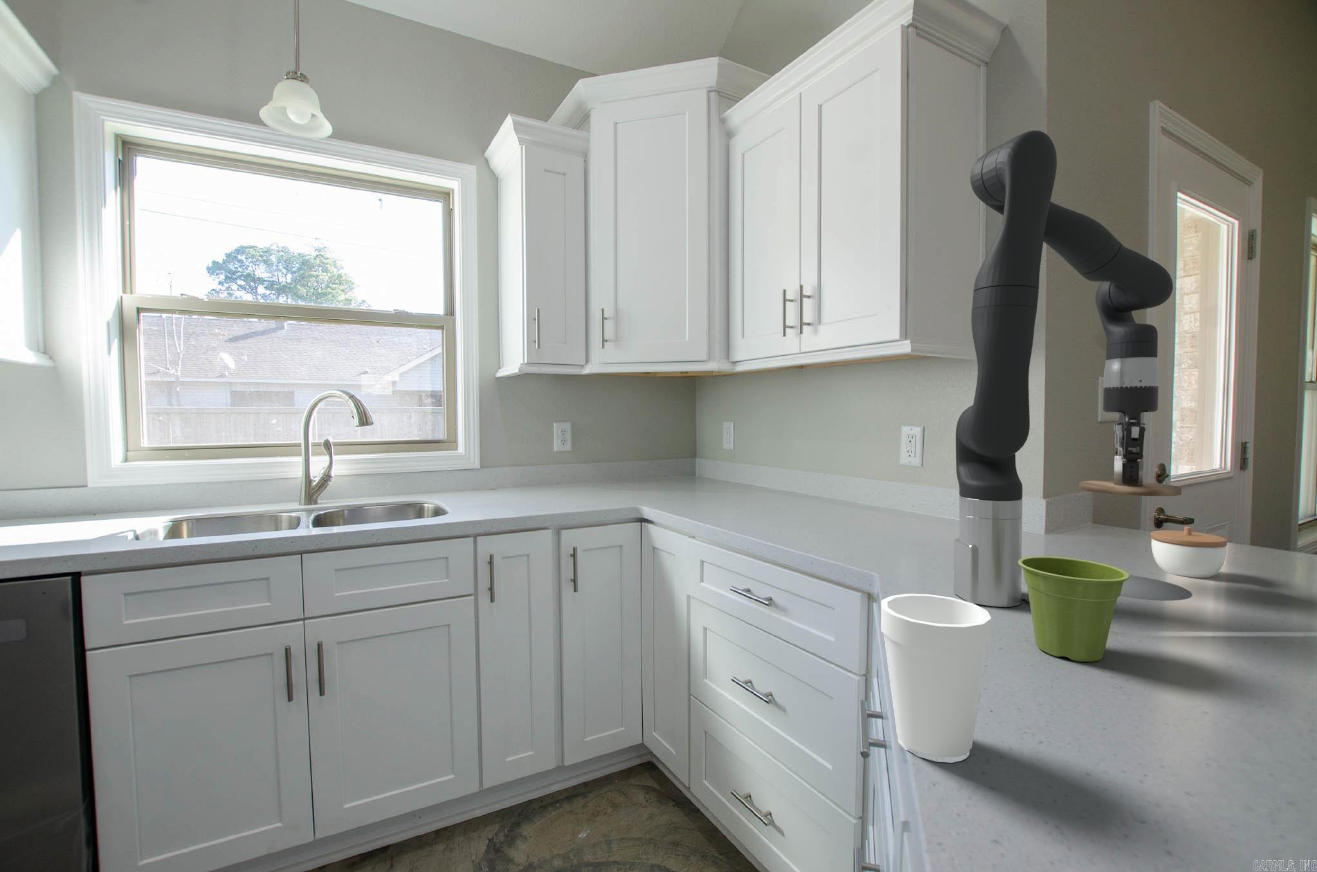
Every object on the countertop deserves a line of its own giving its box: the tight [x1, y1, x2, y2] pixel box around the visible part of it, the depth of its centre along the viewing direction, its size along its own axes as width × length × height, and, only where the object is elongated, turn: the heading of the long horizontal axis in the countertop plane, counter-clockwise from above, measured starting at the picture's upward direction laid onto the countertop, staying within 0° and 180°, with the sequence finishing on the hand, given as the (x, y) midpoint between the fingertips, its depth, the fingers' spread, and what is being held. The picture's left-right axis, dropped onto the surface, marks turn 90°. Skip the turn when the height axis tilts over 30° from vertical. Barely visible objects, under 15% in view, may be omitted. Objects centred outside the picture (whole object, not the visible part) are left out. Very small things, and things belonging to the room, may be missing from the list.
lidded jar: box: [1150, 526, 1228, 579], centre depth 111 cm, size 11×11×9 cm
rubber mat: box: [1119, 574, 1193, 602], centre depth 103 cm, size 17×17×1 cm
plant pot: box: [1018, 556, 1130, 663], centre depth 76 cm, size 12×12×11 cm
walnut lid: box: [1078, 455, 1182, 497], centre depth 103 cm, size 14×14×6 cm
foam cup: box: [880, 593, 992, 757], centre depth 55 cm, size 10×9×13 cm
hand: (1128, 482), depth 103 cm, fingers closed on walnut lid, 4 cm apart
